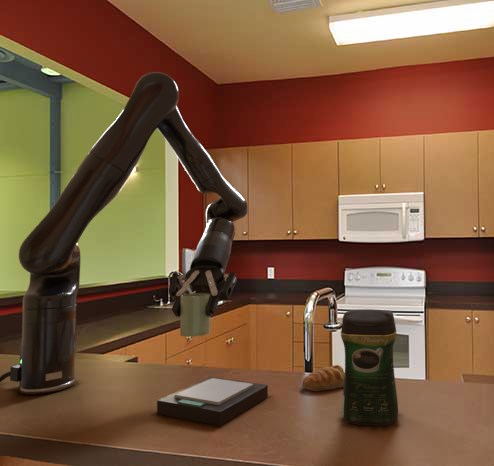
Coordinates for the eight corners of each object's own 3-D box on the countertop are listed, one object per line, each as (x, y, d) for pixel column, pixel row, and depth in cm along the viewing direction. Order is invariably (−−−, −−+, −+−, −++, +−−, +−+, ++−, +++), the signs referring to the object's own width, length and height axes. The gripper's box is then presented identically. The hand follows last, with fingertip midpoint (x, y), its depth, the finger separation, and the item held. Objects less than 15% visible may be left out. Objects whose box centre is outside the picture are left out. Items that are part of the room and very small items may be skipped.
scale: (156, 414, 71) (156, 396, 72) (211, 388, 84) (211, 374, 85) (220, 426, 66) (220, 407, 66) (267, 397, 79) (267, 381, 79)
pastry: (313, 396, 80) (312, 376, 80) (295, 387, 85) (295, 368, 85) (349, 385, 86) (349, 367, 86) (331, 378, 91) (331, 361, 91)
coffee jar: (399, 410, 72) (398, 306, 73) (396, 430, 65) (395, 313, 65) (346, 407, 74) (345, 305, 75) (337, 425, 66) (336, 312, 67)
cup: (173, 335, 81) (174, 295, 82) (194, 329, 87) (194, 292, 87) (196, 337, 79) (196, 296, 79) (216, 331, 85) (216, 293, 85)
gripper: (176, 243, 91) (150, 303, 79) (240, 242, 91) (224, 302, 79) (186, 265, 96) (162, 325, 84) (246, 265, 96) (231, 324, 84)
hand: (192, 314), depth 81 cm, fingers closed on cup, 6 cm apart
